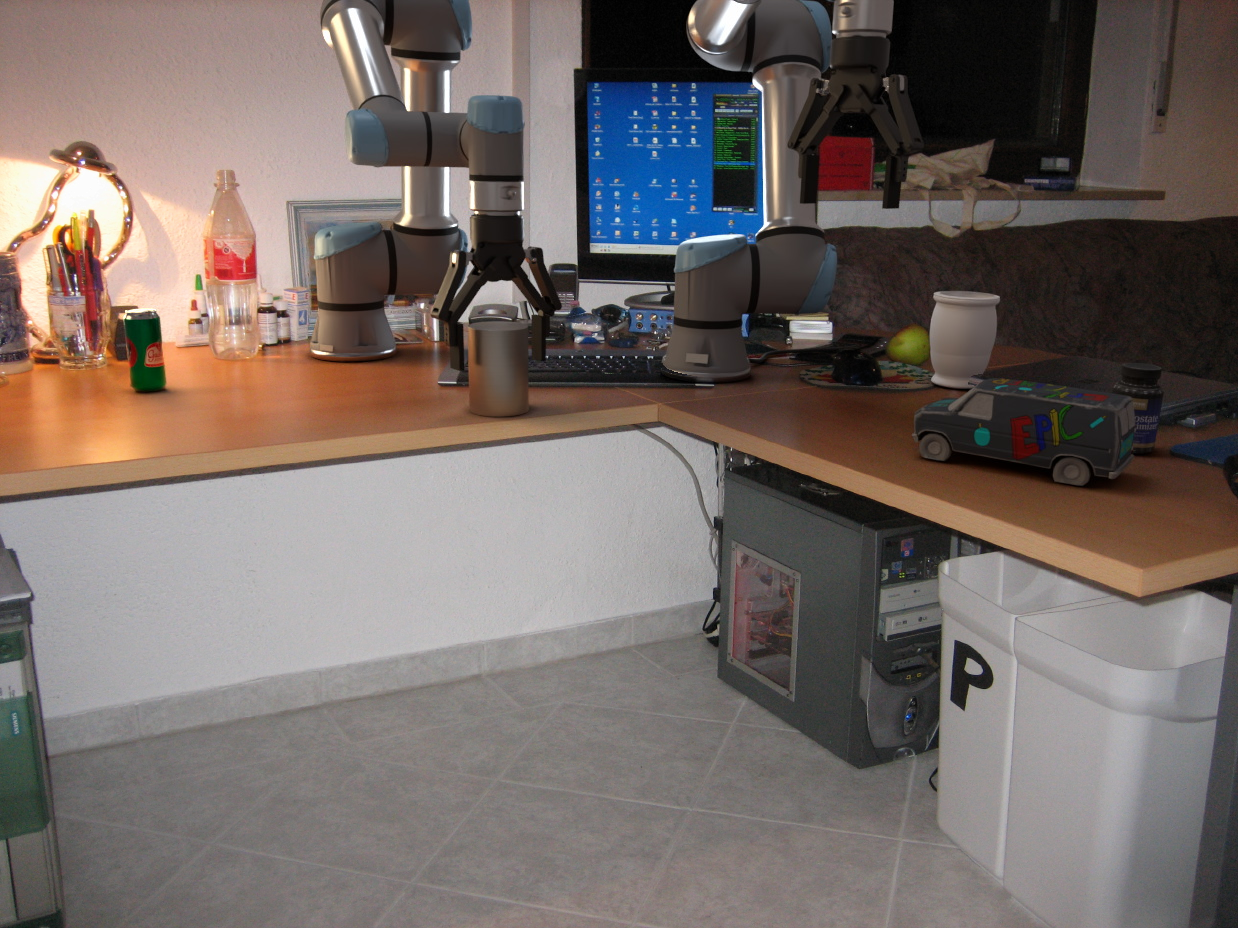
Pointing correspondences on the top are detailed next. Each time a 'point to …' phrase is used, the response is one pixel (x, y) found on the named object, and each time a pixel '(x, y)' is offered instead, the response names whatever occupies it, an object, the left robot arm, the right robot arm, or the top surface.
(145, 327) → the soda can
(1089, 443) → the toy van
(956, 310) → the jar
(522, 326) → the can
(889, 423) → the top surface
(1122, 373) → the pill bottle
